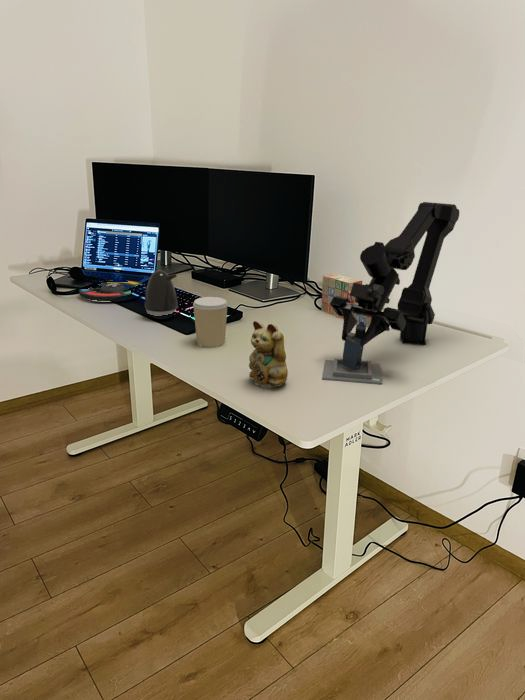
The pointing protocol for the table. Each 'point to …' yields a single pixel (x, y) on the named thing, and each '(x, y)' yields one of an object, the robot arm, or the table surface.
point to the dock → (352, 372)
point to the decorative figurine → (268, 356)
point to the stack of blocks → (340, 294)
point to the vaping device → (354, 348)
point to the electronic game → (108, 291)
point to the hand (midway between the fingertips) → (351, 342)
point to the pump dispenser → (160, 294)
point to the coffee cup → (210, 321)
